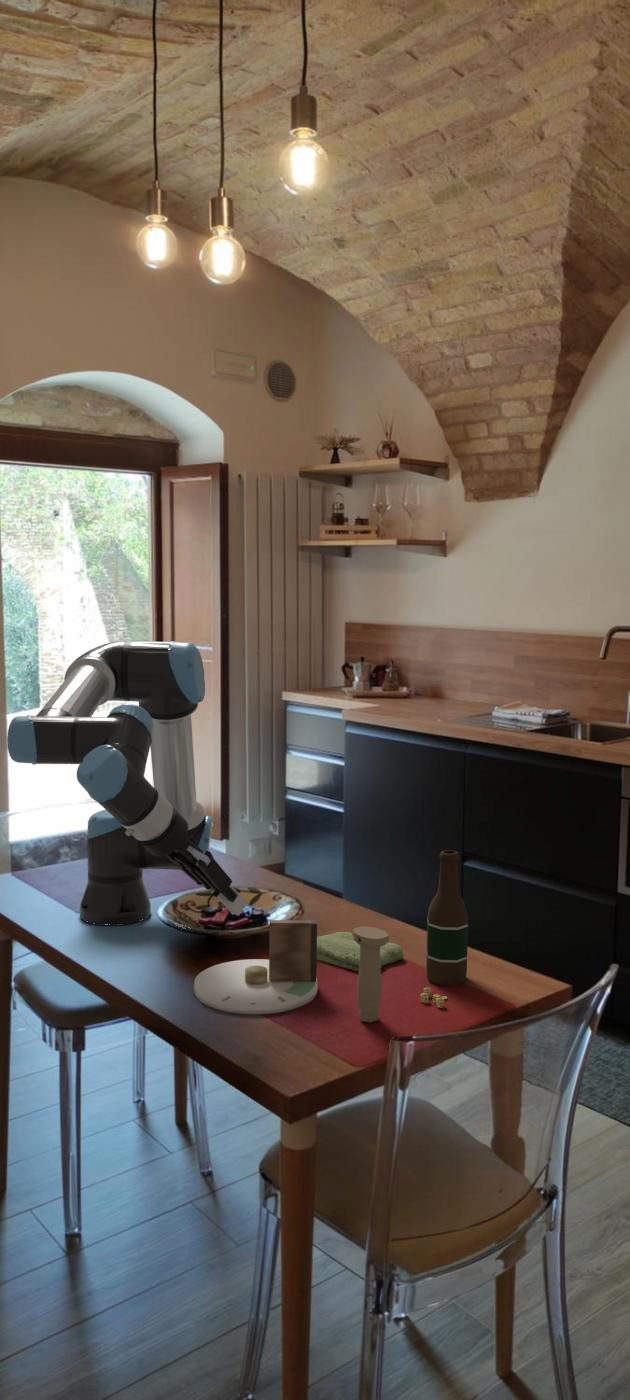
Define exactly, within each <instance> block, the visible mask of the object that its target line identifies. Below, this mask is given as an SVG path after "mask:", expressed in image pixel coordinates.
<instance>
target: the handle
mask: <svg viewBox="0 0 630 1400" xmlns="http://www.w3.org/2000/svg"><path fill="white" fill-rule="evenodd" d="M352 933H353V938H354V940H355V941H356V942H357V943H358V944H359V945H360V962H359V972H358V976H357V977H358V978H357V1006H358V1015H359V1016H358V1017H359V1019H360V1021H361V1022H362V1023H365V1022H366V1023H370V1024H371V1023H373V1022H377V1021H378V1019H379V1013H378V1012H379V1010H380V1006H381V998H382V975H381V974H382V973H381V972H382V971H381V970H382V968H380V947H381V946H383V945H385V944H387V943H389V936H390V935H389V934H388V932H387V931H385V930H383V929H382V928H381V929H380V928H378V927H374V926H367V925H366V926H359V927H355V928H353V929H352Z"/></svg>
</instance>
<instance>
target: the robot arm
mask: <svg viewBox="0 0 630 1400" xmlns="http://www.w3.org/2000/svg"><path fill="white" fill-rule="evenodd" d="M205 681H206V680H205V669H204V663H203V658H202V655H201V653H200V650H199V648H198V647H197V646H196V645H194V644H193V643H190V642H178V641H175V640H171V641H127V640H122V641H121V640H120V641H117V640H116V641H112V642H107V643H104V644H101V645H98V646H96V647H94V648H91V649H89V650H87V651H86V652H85V653H82V654H81V655H80V656H78V657H77V658H76V659H75V660H73V661H72V663H71V664H69V666H68V667H67V669H66V671H65V674H64V679H63V682H62V684H60V686H59V687H58V688H57V689H56V691H55V692H54V693H53V694H52V696H51V697H50V698H49V700H48V701H47V702H46V703H45V705H44V706H43V707H42V708H41V709H40V711H38V713H37V714H36V715H30V714H28V715H22V716H21V715H19V716H15V717H13V718H12V719H11V720H10V723H9V725H8V729H7V736H6V737H7V738H6V740H7V743H6V744H7V752H8V755H9V757H10V759H11V760H12V761H13V762H15V763H17V764H18V763H20V764H32V765H33V766H34V765H78V766H77V769H76V780H77V782H78V783H79V785H80V786H81V787H82V788H83V789H84V790H85V792H86V793H88V795H89V797H90V798H91V799H92V800H94V801H95V802H96V803H98V804H99V805H100V806H101V807H102V808H104V809H103V810H98V811H96V812H95V813H93V814H92V815H91V816H90V817H89V818H88V821H87V834H86V839H87V841H86V842H87V845H86V846H87V883H86V886H85V889H84V893H83V896H82V899H81V900H80V901H81V902H80V905H79V918H80V917H81V918H82V919H83V920H85V921H88V922H91V923H95V924H94V925H97V924H108V925H107V926H118V925H117V924H125V925H128V924H127V923H131V924H133V923H132V922H136V923H138V922H137V921H139V922H141V921H140V920H142V919H144V920H146V919H147V918H146V917H148V916H149V915H150V916H151V914H150V913H151V911H152V910H151V909H152V908H151V907H152V905H151V900H150V898H149V895H148V892H147V891H148V890H147V888H146V886H145V883H144V879H143V875H144V874H143V873H144V872H143V870H174V871H175V870H177V871H178V870H179V871H182V872H183V873H184V874H186V875H187V876H188V877H189V878H191V880H193V881H194V882H195V883H196V884H197V885H198V886H203V887H204V888H205V890H208V891H210V890H211V891H210V893H211V895H212V896H213V897H215V898H216V899H218V901H219V902H220V903H221V904H222V905H223V906H225V907H226V908H227V909H228V910H229V911H230V912H231V913H232V914H233V915H236V916H237V917H239V916H240V915H241V913H242V912H243V910H244V909H245V907H246V906H247V905H248V901H247V900H246V899H245V898H244V897H243V895H241V894H240V893H239V892H238V891H237V889H235V888H234V887H233V886H232V884H233V880H232V878H230V877H229V875H228V874H227V873H226V872H225V870H224V869H223V868H222V867H221V865H220V864H219V863H218V862H217V861H216V859H215V858H214V856H213V854H212V853H211V851H210V843H211V835H212V826H213V817H212V816H211V815H208V814H205V809H204V807H203V806H202V804H201V803H199V802H198V801H197V789H196V788H197V786H196V774H195V773H196V772H195V771H196V770H195V758H194V757H195V756H194V755H195V754H194V745H193V743H194V741H193V726H192V714H194V713H195V712H196V711H197V709H198V706H199V703H202V702H203V701H204V700H205V699H204V698H205V695H206V682H205ZM110 701H111V702H112V701H114V702H116V701H117V702H138V705H136V704H132V703H122V704H120V705H118V706H116V707H115V706H114V708H112V709H111V710H110V711H109V714H108V715H107V716H106V717H105V716H103V717H102V716H93V715H94V713H95V712H96V710H97V709H98V708H99V707H100V706H102V705H105V704H106V703H107V702H110ZM149 752H150V757H151V758H150V759H151V769H152V782H153V785H152V784H151V783H150V782H149V781H148V780H147V778H145V774H146V769H147V768H146V765H147V761H148V757H149ZM150 916H149V917H150ZM149 917H148V918H149ZM81 918H80V919H81ZM145 918H146V919H145ZM82 919H81V920H82ZM83 920H82V921H83ZM85 921H84V922H85ZM142 921H143V920H142ZM88 922H87V923H88ZM91 923H90V924H91ZM109 924H110V925H109Z"/></svg>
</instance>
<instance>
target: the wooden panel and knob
mask: <svg viewBox="0 0 630 1400" xmlns="http://www.w3.org/2000/svg"><path fill="white" fill-rule="evenodd" d="M317 937H318V919H306V920H305V919H301V920H300V919H289V920H288V919H270V920H269V943H268V944H269V945H268V947H269V949H268V950H269V952H268V954H269V955H268V957H269V958H268V960H269V981H316V978H317V966H318V965H317V962H318V960H317ZM245 981H246V982H248V983H252V984H260V983H264V982H266V981H267V968H265V967H263V966H250V967H247V968H246V969H245Z"/></svg>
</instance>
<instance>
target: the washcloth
mask: <svg viewBox="0 0 630 1400" xmlns="http://www.w3.org/2000/svg"><path fill="white" fill-rule="evenodd" d="M404 957H405V953H404V950H403V948H402V947H401V946H400V945H398V944H396V943H393V942H388V943H387V944H385V945H383V946H381V947H380V969H382V968H383V966H385V965H390V964H393V963H396V962H398V961H401V960H402V959H403V958H404ZM317 961H319V962H323V963H327V964H331V965H333V966H337V967H340V968H343V969H347V970H350V969H351V971H354V972H357V971H358V973H359V962H360V945H359V944H358V943H357V942H356V941H355V940H354V938H353V932H347V931H337V932H334V933H330V934H325V935H320V936H317Z"/></svg>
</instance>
